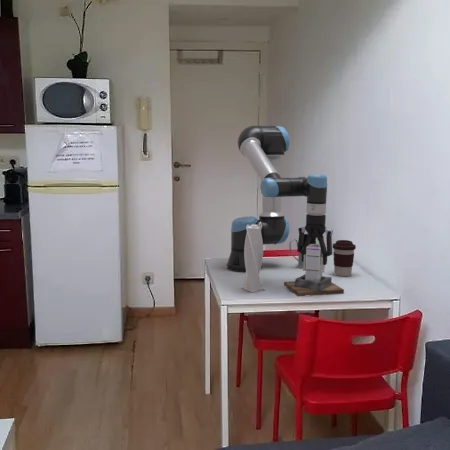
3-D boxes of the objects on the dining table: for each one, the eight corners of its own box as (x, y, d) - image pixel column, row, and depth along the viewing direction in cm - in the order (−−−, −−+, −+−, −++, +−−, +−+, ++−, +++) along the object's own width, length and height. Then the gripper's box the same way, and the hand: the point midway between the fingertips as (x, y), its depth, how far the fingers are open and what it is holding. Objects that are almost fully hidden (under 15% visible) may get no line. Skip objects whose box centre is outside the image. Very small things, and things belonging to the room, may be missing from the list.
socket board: (283, 285, 234) (284, 274, 233) (326, 282, 238) (327, 272, 238) (298, 296, 218) (298, 284, 218) (343, 293, 223) (344, 282, 222)
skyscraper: (268, 291, 225) (269, 221, 221) (251, 294, 221) (252, 223, 216) (255, 286, 232) (257, 218, 228) (239, 289, 228) (240, 220, 223)
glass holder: (319, 268, 264) (321, 236, 262) (294, 271, 258) (295, 238, 256) (308, 264, 272) (310, 233, 270) (283, 267, 266) (284, 235, 263)
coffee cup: (354, 277, 247) (356, 243, 245) (331, 276, 249) (332, 242, 247) (354, 272, 257) (355, 239, 254) (331, 271, 259) (333, 238, 256)
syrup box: (319, 283, 224) (321, 247, 222) (304, 281, 226) (306, 246, 224) (321, 280, 230) (323, 244, 227) (306, 278, 231) (308, 243, 229)
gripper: (289, 212, 225) (287, 269, 229) (336, 217, 215) (333, 276, 219) (297, 210, 232) (295, 266, 235) (343, 214, 222) (340, 272, 226)
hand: (313, 271), depth 227 cm, fingers closed on syrup box, 6 cm apart
